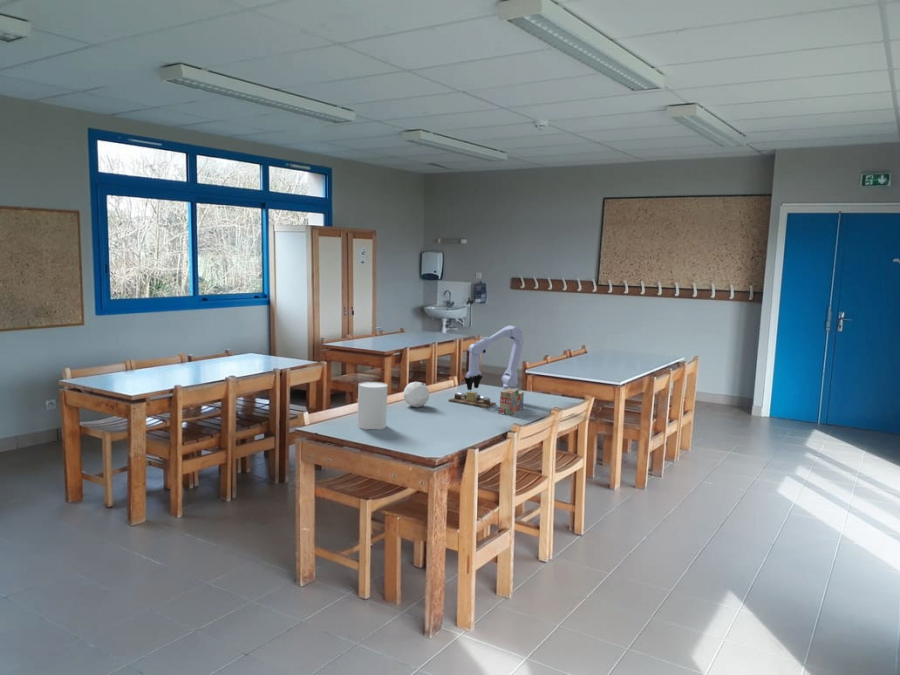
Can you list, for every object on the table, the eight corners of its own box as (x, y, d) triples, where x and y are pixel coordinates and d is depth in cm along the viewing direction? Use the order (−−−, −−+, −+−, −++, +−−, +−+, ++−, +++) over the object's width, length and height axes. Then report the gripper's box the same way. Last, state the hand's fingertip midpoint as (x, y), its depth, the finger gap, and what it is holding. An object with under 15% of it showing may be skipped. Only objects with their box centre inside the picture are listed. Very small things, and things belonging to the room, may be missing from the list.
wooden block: (477, 401, 379) (477, 392, 378) (473, 402, 375) (474, 393, 375) (469, 399, 381) (470, 391, 381) (466, 400, 378) (466, 392, 377)
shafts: (490, 402, 374) (491, 396, 374) (487, 403, 371) (488, 397, 371) (457, 396, 385) (457, 390, 385) (453, 397, 382) (454, 391, 382)
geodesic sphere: (437, 394, 368) (423, 373, 367) (434, 399, 353) (419, 377, 353) (415, 409, 370) (401, 387, 369) (411, 415, 356) (396, 392, 355)
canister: (387, 429, 311) (389, 387, 309) (358, 429, 308) (359, 387, 306) (384, 422, 324) (385, 382, 322) (356, 422, 322) (357, 381, 319)
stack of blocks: (512, 406, 375) (513, 384, 374) (523, 408, 373) (524, 386, 371) (499, 413, 356) (500, 391, 355) (510, 415, 353) (511, 392, 352)
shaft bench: (495, 404, 377) (495, 399, 377) (485, 408, 367) (485, 402, 367) (459, 398, 390) (459, 393, 389) (448, 401, 379) (448, 396, 379)
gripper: (474, 362, 384) (472, 386, 386) (461, 365, 372) (460, 389, 373) (485, 364, 380) (483, 387, 382) (472, 367, 368) (471, 391, 370)
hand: (472, 388), depth 377 cm, fingers open, 7 cm apart
